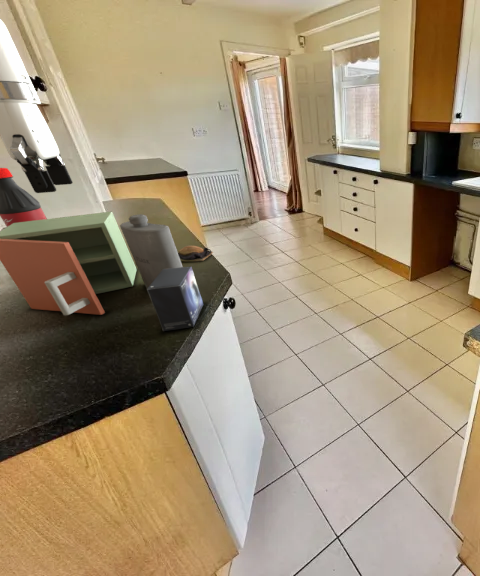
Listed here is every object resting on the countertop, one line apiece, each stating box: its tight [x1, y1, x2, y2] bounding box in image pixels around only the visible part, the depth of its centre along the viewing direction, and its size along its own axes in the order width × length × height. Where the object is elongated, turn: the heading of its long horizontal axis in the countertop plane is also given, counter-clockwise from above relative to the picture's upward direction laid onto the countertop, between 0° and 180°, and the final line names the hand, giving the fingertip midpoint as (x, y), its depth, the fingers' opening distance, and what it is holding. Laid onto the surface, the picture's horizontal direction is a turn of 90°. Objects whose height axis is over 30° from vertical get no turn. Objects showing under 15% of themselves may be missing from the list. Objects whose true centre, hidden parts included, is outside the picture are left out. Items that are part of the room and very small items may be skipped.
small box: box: [146, 266, 204, 332], centre depth 70 cm, size 11×6×10 cm, turn 17°
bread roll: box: [178, 245, 214, 263], centre depth 104 cm, size 11×8×4 cm
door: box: [0, 239, 106, 316], centre depth 69 cm, size 6×20×18 cm, turn 81°
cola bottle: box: [0, 167, 48, 228], centre depth 88 cm, size 8×8×30 cm
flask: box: [119, 213, 184, 289], centre depth 81 cm, size 15×6×20 cm, turn 64°
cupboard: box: [0, 210, 138, 295], centre depth 83 cm, size 13×20×18 cm, turn 121°
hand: (55, 188), depth 68 cm, fingers open, 9 cm apart
